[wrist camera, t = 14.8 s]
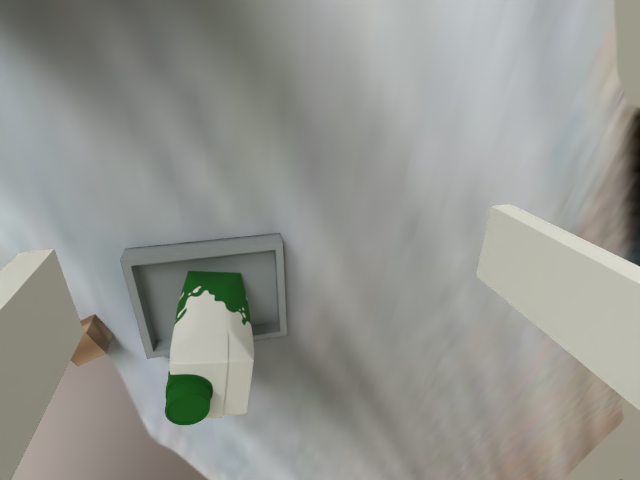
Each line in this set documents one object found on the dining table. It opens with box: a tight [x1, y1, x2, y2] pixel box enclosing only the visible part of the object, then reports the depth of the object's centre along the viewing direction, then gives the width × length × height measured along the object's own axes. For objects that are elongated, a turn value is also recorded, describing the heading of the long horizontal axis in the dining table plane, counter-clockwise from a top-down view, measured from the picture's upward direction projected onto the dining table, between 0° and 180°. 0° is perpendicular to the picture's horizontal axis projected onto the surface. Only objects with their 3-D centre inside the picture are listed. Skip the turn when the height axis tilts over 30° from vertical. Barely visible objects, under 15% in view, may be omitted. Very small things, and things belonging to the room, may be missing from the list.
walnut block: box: [71, 315, 113, 366], centre depth 49 cm, size 4×4×4 cm
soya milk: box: [165, 271, 254, 425], centre depth 43 cm, size 9×9×20 cm
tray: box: [120, 233, 287, 359], centre depth 51 cm, size 16×20×3 cm
